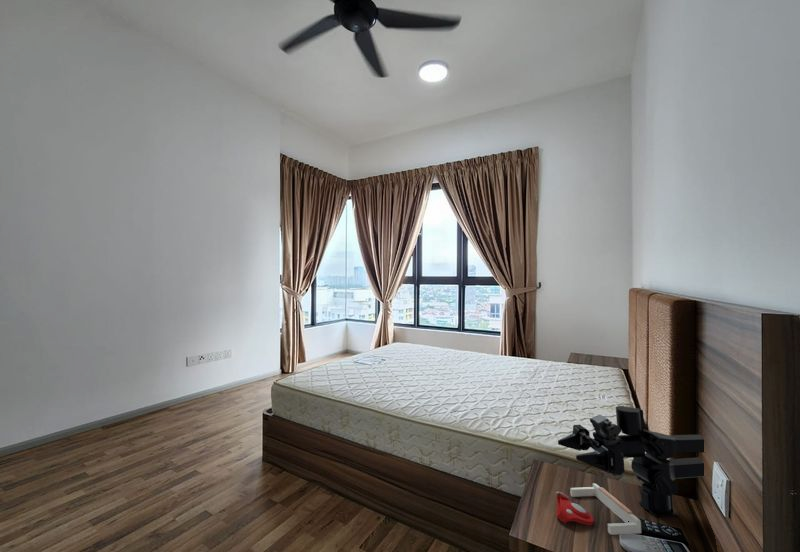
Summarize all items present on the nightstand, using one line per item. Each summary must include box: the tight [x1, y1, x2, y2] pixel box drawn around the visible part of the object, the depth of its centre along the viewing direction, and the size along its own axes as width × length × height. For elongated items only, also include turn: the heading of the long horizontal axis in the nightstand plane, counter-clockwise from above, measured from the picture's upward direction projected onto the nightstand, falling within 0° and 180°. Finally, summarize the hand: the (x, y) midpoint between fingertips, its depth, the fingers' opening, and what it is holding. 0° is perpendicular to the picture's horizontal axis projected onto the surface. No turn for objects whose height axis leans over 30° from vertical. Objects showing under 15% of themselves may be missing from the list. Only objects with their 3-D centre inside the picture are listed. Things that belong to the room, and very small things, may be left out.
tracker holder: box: [555, 491, 595, 526], centre depth 94 cm, size 12×4×10 cm
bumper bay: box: [569, 482, 642, 536], centre depth 95 cm, size 8×18×3 cm, turn 3°
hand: (566, 449), depth 95 cm, fingers open, 9 cm apart
